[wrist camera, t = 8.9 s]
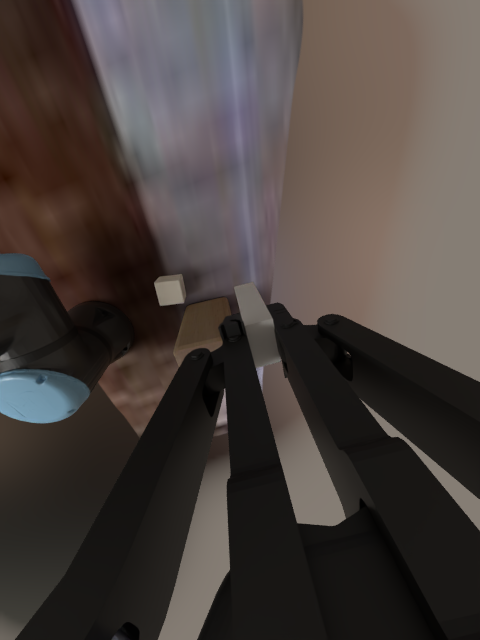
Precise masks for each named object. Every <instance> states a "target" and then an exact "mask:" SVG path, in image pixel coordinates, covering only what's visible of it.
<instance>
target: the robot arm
mask: <svg viewBox="0 0 480 640" xmlns="http://www.w3.org/2000/svg"><path fill="white" fill-rule="evenodd" d="M234 289H235V293H236V297H237V301H238V305H239V309H240V313H237V314H233V315H230V316H226V317H225V318H224V320H223V322H222V323H221V324H220V325H219V327H218V329H219V332H220V336H221V339H222V344H223V345H222V346H221V347H219V348H218V349H216V350H214V351H212V352H210V351H209V349H207V348H198V349H195V350H192V351H191V352H190V353H188V354H187V355H186V356H185V358H184V360H183V362H182V363H181V365H180V367H179V369H178V371H177V372H176V374H175V376H174V378H173V380H172V382H171V383H170V385H169V387H168V389H167V391H166V392H165V394H164V396H163V398H162V400H161V401H160V403H159V405H158V407H157V409H156V411H155V412H154V414H153V416H152V418H151V420H150V421H149V423H148V425H147V427H146V429H145V430H144V432H143V434H142V436H141V438H140V440H139V441H138V443H137V445H136V447H135V449H134V450H133V452H132V454H131V456H130V458H129V459H128V461H127V464H126V465H125V467H124V469H123V470H122V472H121V474H120V476H119V478H118V479H117V481H116V483H115V485H114V487H113V489H112V491H111V492H110V494H109V496H108V498H107V499H106V501H105V503H104V505H103V507H102V508H101V510H100V512H99V514H98V516H97V517H96V519H95V521H94V523H93V525H92V527H91V528H90V530H89V532H88V534H87V536H86V538H85V539H84V541H83V543H82V545H81V546H80V549H79V550H78V552H77V554H76V556H75V557H74V559H73V561H72V563H71V565H70V566H69V568H68V570H67V572H66V574H65V575H64V577H63V578H62V579H61V581H60V582H59V583H58V585H57V586H56V587H55V588H54V590H53V591H52V592H51V594H50V595H49V596H48V597H47V599H46V600H45V601H44V603H43V604H42V605H41V607H40V608H39V609H38V611H37V612H36V613H35V614H34V616H33V617H32V618H31V619H30V621H29V622H28V623H27V625H26V626H25V627H24V629H23V630H22V631H21V632H20V634H19V635H18V636H17V638H16V639H15V640H158V637H159V634H160V631H161V629H162V626H163V623H164V621H165V618H166V614H167V611H168V607H169V604H170V600H171V597H172V594H173V590H174V587H175V583H176V579H177V575H178V571H179V567H180V563H181V559H182V555H183V551H184V548H185V544H186V540H187V535H188V532H189V528H190V524H191V520H192V516H193V512H194V508H195V504H196V501H197V496H198V493H199V489H200V485H201V481H202V477H203V473H204V469H205V465H206V461H207V457H208V454H209V449H210V445H211V442H212V438H213V434H214V430H215V426H216V422H217V418H218V414H219V410H220V407H221V403H222V399H223V395H224V389H225V391H226V406H227V422H228V436H229V453H230V468H231V476H230V478H229V479H228V481H227V509H228V529H229V530H228V531H229V553H230V571H229V572H228V573H227V575H226V576H225V578H224V580H223V582H222V584H221V585H220V587H219V589H218V591H217V594H216V596H215V598H214V601H213V603H212V605H211V608H210V610H209V613H208V615H207V618H206V620H205V622H204V625H203V627H202V629H201V632H200V634H199V637H198V639H197V640H480V531H479V530H478V528H477V527H476V526H475V525H474V523H473V522H472V521H471V520H470V519H469V517H468V516H467V515H466V514H465V513H464V511H463V510H462V509H461V508H460V506H459V505H458V504H457V503H456V502H455V500H454V499H453V498H452V497H451V496H450V494H449V493H448V492H447V491H446V490H445V488H444V487H443V486H442V485H441V483H440V482H439V481H438V480H437V479H436V478H435V476H434V475H433V474H432V473H431V471H430V470H429V469H428V468H427V466H426V465H425V464H424V463H423V462H422V461H421V459H420V458H419V457H418V455H417V454H416V453H415V452H414V451H413V449H412V448H411V447H410V446H409V445H408V444H407V443H406V442H405V441H404V440H402V439H400V438H399V437H390V436H388V435H387V433H386V432H385V431H384V430H383V429H382V427H381V426H380V425H379V423H378V422H377V421H376V419H375V418H374V417H373V416H372V414H371V413H370V412H369V410H368V409H367V408H366V406H365V405H364V404H363V403H362V401H364V402H365V403H366V404H367V405H368V406H369V407H371V408H372V409H373V410H374V411H375V412H377V413H378V414H379V415H380V416H381V417H382V418H384V419H385V420H386V421H387V422H388V423H390V424H391V425H392V426H393V427H394V428H396V429H397V430H398V431H399V432H400V433H402V434H403V435H404V436H405V437H407V439H409V440H410V441H411V442H412V443H413V444H415V445H416V446H417V447H418V448H419V449H421V450H422V451H423V452H424V453H425V454H427V455H428V456H429V457H430V458H431V459H432V460H434V461H435V462H436V463H437V464H438V465H439V466H441V467H442V468H443V469H444V470H445V471H447V472H448V473H449V474H450V475H451V476H452V477H454V478H455V479H456V480H457V481H459V482H460V483H461V484H462V485H463V486H464V487H466V488H467V489H468V490H469V491H470V492H472V493H473V494H474V495H475V496H476V497H477V498H479V499H480V382H478V381H476V380H474V379H472V378H470V377H468V376H466V375H464V374H462V373H460V372H458V371H455V370H453V369H451V368H449V367H447V366H445V365H443V364H441V363H439V362H437V361H435V360H433V359H431V358H428V357H426V356H424V355H422V354H420V353H418V352H416V351H414V350H412V349H410V348H407V347H406V346H403V345H401V344H399V343H397V342H395V341H393V340H391V339H389V338H387V337H384V336H383V335H381V334H379V333H376V332H374V331H372V330H370V329H368V328H366V327H364V326H362V325H360V324H358V323H356V322H354V321H352V320H350V319H347V318H345V317H343V316H341V315H335V314H328V315H325V316H322V317H320V318H319V319H318V320H317V322H318V323H317V324H318V325H303V324H302V323H301V321H299V320H298V319H294V318H292V317H291V315H290V314H289V312H288V311H287V310H286V308H285V307H284V305H282V304H280V303H274V304H270V305H265V303H264V301H263V300H262V298H261V296H260V294H259V292H258V290H257V288H256V287H255V285H254V283H253V282H251V283H247V284H243V285H239V286H235V287H234ZM133 340H134V330H133V326H132V324H131V322H130V321H129V319H128V318H127V317H126V315H125V314H124V313H122V312H121V311H120V310H119V309H117V308H115V307H113V306H111V305H109V304H106V303H102V302H95V301H90V302H84V303H81V304H78V305H76V306H75V307H73V308H72V309H70V310H69V311H68V312H67V311H66V309H65V308H64V306H63V304H62V302H61V301H60V299H59V297H58V296H57V294H56V292H55V291H54V289H53V287H52V285H51V284H50V279H49V278H48V277H47V276H46V275H45V274H44V272H43V271H42V269H41V268H40V266H39V264H38V263H37V262H36V261H35V260H34V259H33V258H32V257H30V256H28V255H24V254H18V253H11V254H0V412H2V413H3V414H5V415H7V416H9V417H12V418H14V419H17V420H21V421H27V422H33V423H50V422H56V421H60V420H63V419H65V418H67V417H69V416H71V415H72V414H73V413H75V412H76V411H77V410H78V408H79V407H80V406H81V405H82V403H83V402H84V401H85V400H86V399H87V398H88V397H89V395H90V393H91V392H92V390H93V389H94V387H95V385H96V384H97V382H98V381H99V379H100V378H101V376H102V375H103V373H104V372H105V370H106V369H107V367H108V366H109V365H110V364H111V363H113V362H115V361H116V360H118V359H120V358H121V357H123V356H124V355H125V354H126V353H127V352H128V350H129V348H130V347H131V345H132V343H133ZM347 352H348V353H349V354H350V355H351V356H350V355H349V354H347ZM280 357H281V359H282V364H283V370H284V375H285V378H288V380H289V382H290V385H291V387H292V389H293V391H294V394H295V396H296V398H297V401H298V403H299V405H300V408H301V410H302V412H303V415H304V417H305V419H306V422H307V424H308V426H309V429H310V430H311V433H312V435H313V438H314V440H315V443H316V445H317V447H318V449H319V452H320V454H321V456H322V459H323V461H324V463H325V466H326V468H327V470H328V473H329V475H330V477H331V480H332V482H333V484H334V487H335V489H336V491H337V494H338V496H339V498H340V501H341V504H342V506H343V510H344V513H345V516H346V519H345V520H344V521H342V522H341V523H340V524H338V525H336V526H322V525H310V524H298V523H297V522H296V518H295V514H294V511H293V507H292V503H291V500H290V495H289V492H288V488H287V484H286V480H285V476H284V473H283V469H282V465H281V462H280V458H279V454H278V451H277V447H276V443H275V439H274V435H273V432H272V428H271V424H270V421H269V417H268V413H267V409H266V405H265V401H264V398H263V394H262V390H261V386H260V383H259V379H258V375H257V371H256V368H258V367H262V366H266V365H269V364H273V363H277V362H281V360H280ZM359 398H360V399H361V400H362V401H361V400H360V399H359Z"/></svg>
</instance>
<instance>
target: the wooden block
mask: <svg viewBox="0 0 480 640" xmlns="http://www.w3.org/2000/svg"><path fill="white" fill-rule="evenodd" d="M230 315H232V314H231V310H230V306H229V302H228V300H227V298H226V297H221V298H217V299H213V300H209V301H204V302H200V303H196V304H191V305H188V306H187V307H186V310H185V313H184V317H183V320H182V323H181V327H180V330H179V333H178V337H177V340H176V344H175V347H174V356H175V358H176V361H177V363H178V366H179V367H180V365H181V363H182V362H183V360H184V358H185V356H186V355H187V354H188V353H190V352H191V351H192V350H195V349H198V348H207V349H209V351H210V352H212V351H214V350H216V349H218V348H219V347H221V346H222V345H223V344H222V339H221V336H220V332H219V329H218V327H219V325H220V324H221V323H222V322H223V320H224V318H225V317H226V316H230Z"/></svg>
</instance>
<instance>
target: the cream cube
mask: <svg viewBox="0 0 480 640" xmlns="http://www.w3.org/2000/svg"><path fill="white" fill-rule="evenodd" d="M154 285H155V289H156V293H157V297H158V300H159V304H160V306H164V305H173V304H181V303H184V301H185V298H186V291H185V286H184V281H183V276H182V274H178V275H169V276H160V277H159V278H158V279H157V280H156V281H155V282H154Z"/></svg>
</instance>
